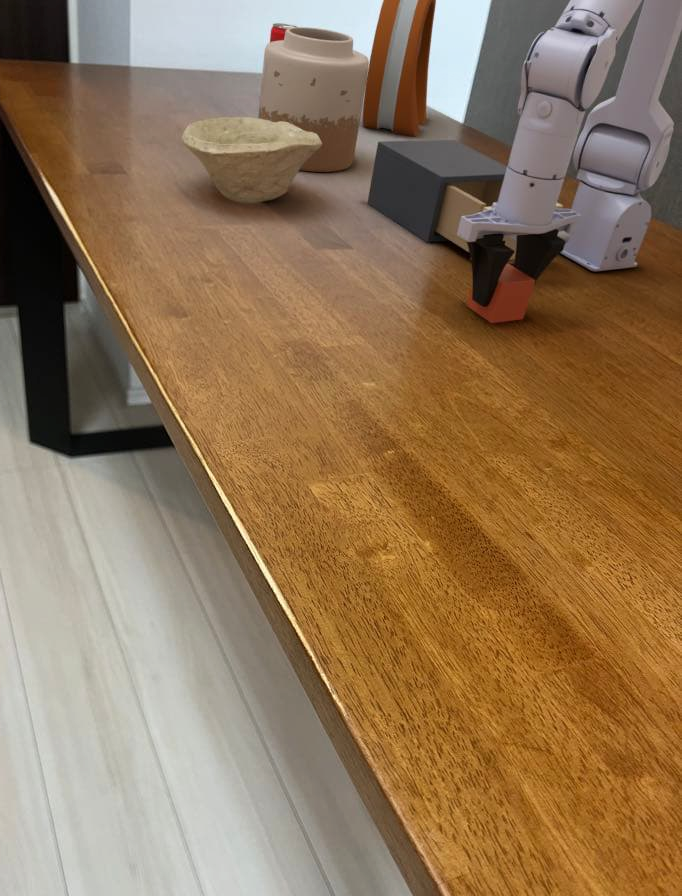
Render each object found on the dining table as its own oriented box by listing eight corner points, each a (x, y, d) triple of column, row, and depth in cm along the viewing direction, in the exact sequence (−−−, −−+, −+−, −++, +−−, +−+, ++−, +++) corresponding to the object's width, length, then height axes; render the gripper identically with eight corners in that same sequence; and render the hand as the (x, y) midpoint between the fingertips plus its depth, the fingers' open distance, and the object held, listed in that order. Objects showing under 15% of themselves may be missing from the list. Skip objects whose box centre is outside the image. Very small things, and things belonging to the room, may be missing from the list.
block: (523, 319, 93) (535, 279, 91) (491, 323, 91) (503, 283, 89) (497, 302, 96) (508, 263, 93) (466, 306, 94) (476, 266, 92)
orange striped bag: (413, 141, 147) (444, -13, 133) (357, 131, 149) (382, -23, 134) (428, 115, 164) (457, -25, 150) (378, 105, 165) (402, -34, 151)
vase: (367, 158, 136) (388, 39, 125) (328, 179, 125) (347, 50, 114) (282, 136, 140) (295, 19, 130) (237, 155, 129) (247, 28, 119)
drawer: (572, 270, 104) (589, 218, 100) (499, 278, 100) (515, 224, 96) (481, 218, 116) (494, 170, 112) (413, 223, 111) (423, 172, 107)
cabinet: (503, 236, 114) (521, 173, 109) (427, 242, 109) (442, 176, 104) (440, 199, 124) (453, 139, 119) (367, 203, 118) (377, 141, 113)
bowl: (250, 248, 112) (166, 166, 105) (255, 193, 125) (180, 117, 118) (329, 174, 105) (245, 81, 98) (326, 124, 118) (251, 38, 111)
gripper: (563, 156, 90) (525, 279, 99) (453, 160, 84) (423, 291, 93) (610, 178, 85) (566, 305, 94) (498, 183, 79) (462, 319, 88)
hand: (498, 300), depth 93 cm, fingers closed on block, 4 cm apart
